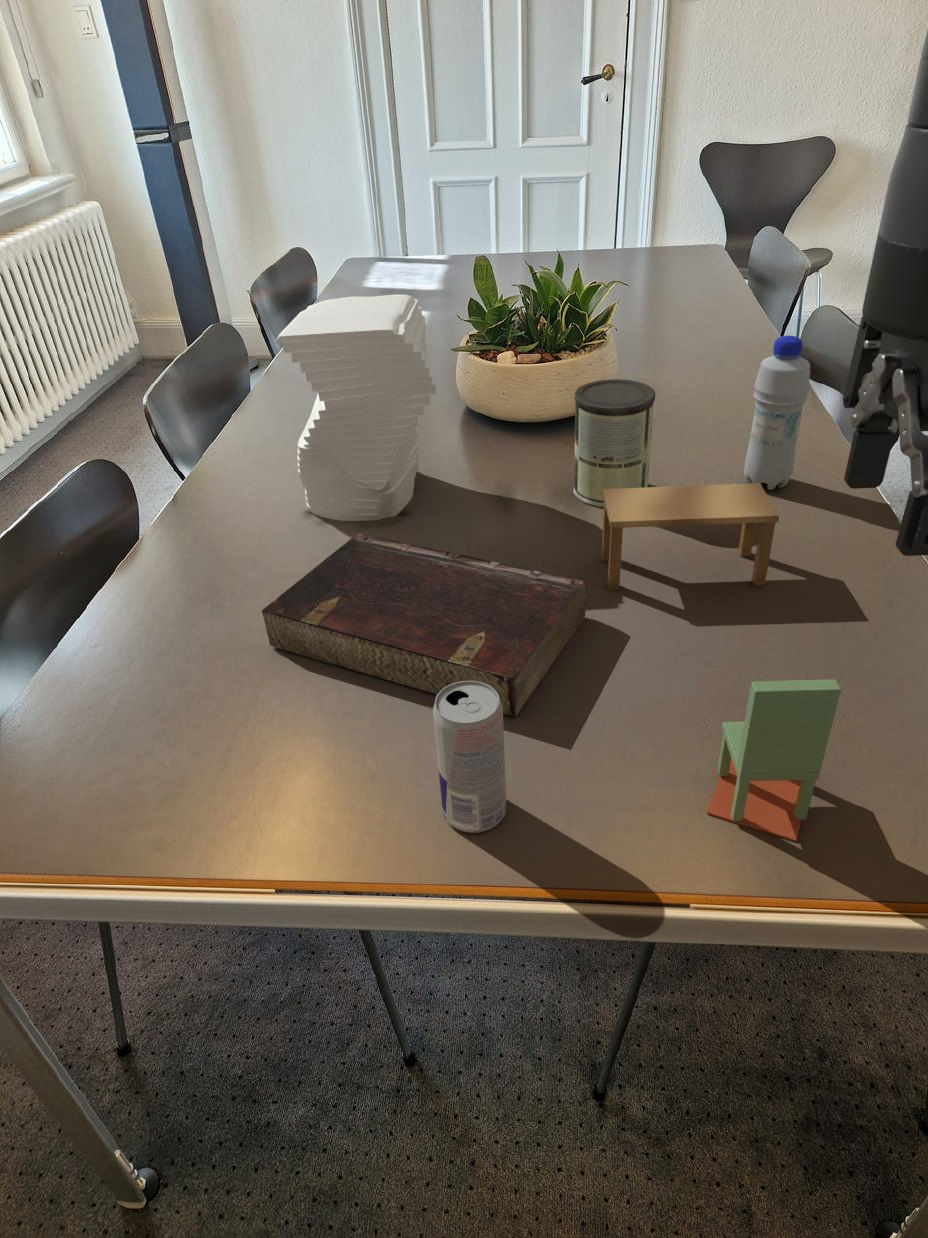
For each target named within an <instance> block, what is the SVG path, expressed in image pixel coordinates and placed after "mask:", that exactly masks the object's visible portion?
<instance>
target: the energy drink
mask: <svg viewBox="0 0 928 1238" xmlns="http://www.w3.org/2000/svg"><path fill="white" fill-rule="evenodd" d="M432 718H433V729H434V738H435V749H436V758H437V769H438V778H439V779H438V780H439V788H440V797H441V799H440V800H441V809H442V814H443V817H444V819H445V821H446V822H447V823H448V824H449V826H451V827H453V828H454V829H456V830H458V831H460V832H464V833H469V834H476V833H477V834H478V833H483V832H487V831H489V830H491V829H493V828H494V827H496V826H497V825H499V824H500V823H501V821H502V820H503V819H504V817H505V815H506V812H507V787H506V786H507V784H506V783H507V782H506V761H505V760H506V758H505V756H506V755H505V732H504V731H505V730H504V728H505V727H504V714H503V707H502V703H501V701H500V699H499V695H498V694H497V692H496V691H495V690H494V689H493V688H492V687H491V686H489V685H487V684H485V683H482V682H478V681H460V682H456V683H453V684H450V685H448V686H446V687H445V688H443V689H442V690H441V691H440V692H439V693H438V694H436V696H435V700H434V704H433V707H432Z"/></svg>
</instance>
